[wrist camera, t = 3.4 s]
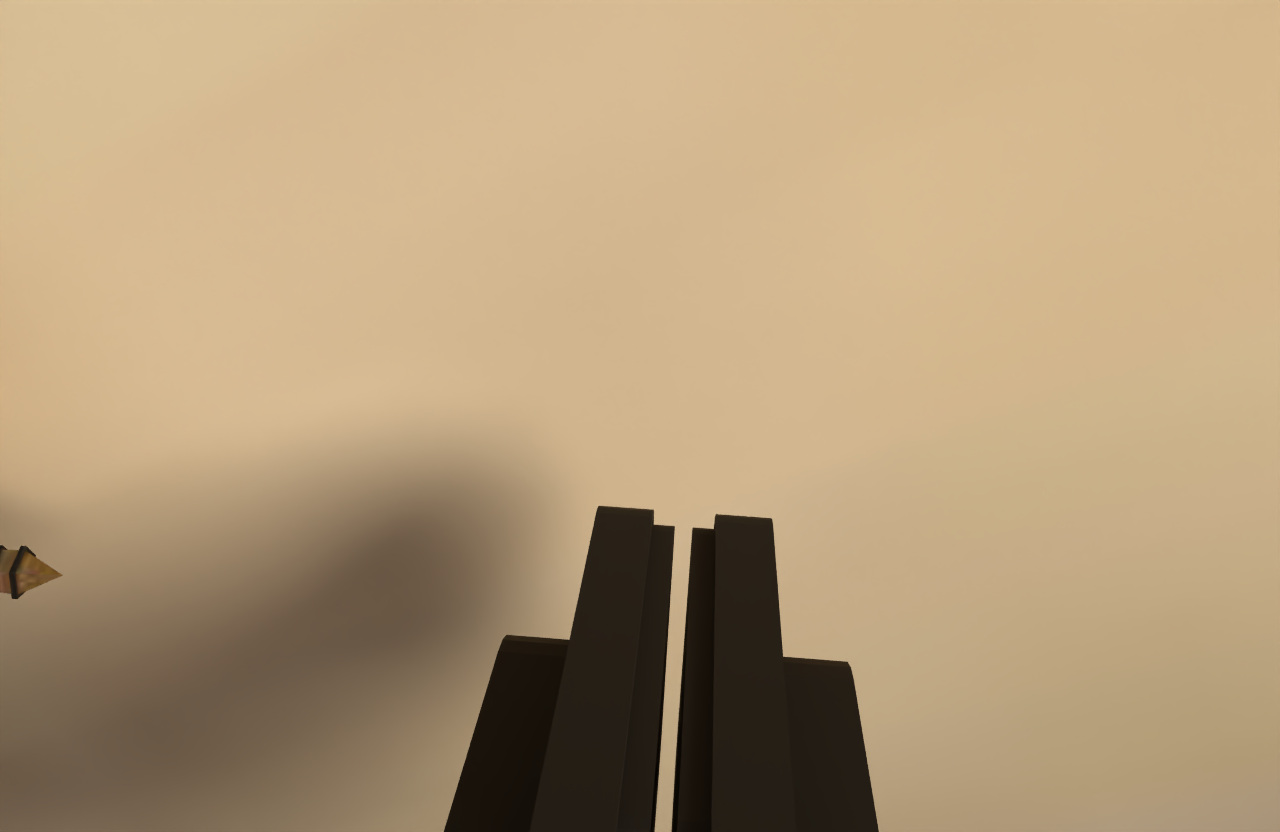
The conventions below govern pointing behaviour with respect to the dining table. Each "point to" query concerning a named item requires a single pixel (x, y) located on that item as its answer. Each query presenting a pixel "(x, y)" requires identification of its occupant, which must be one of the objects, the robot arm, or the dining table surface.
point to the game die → (22, 571)
